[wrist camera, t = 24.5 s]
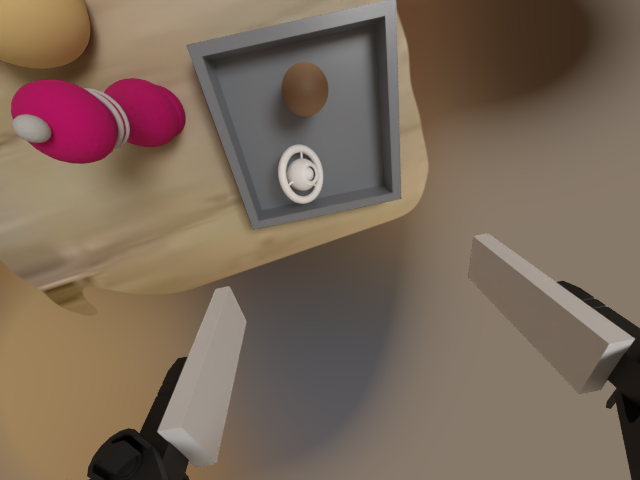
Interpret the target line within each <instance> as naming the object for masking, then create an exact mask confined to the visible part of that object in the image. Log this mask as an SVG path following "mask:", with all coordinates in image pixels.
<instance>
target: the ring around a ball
mask: <svg viewBox="0 0 640 480" xmlns="http://www.w3.org/2000/svg"><path fill="white" fill-rule="evenodd" d="M295 153H300V156H301V159H297V160H295V161H293V162H292V163H291V164H290V165H289V167H288V169H287V172H286V167H287V163H288V161H289V159H290V157H291V156H292V155H293V154H295ZM302 153H304V154H306V155H307V156H308V157H309V158H310V159H311V160H312V162H313V163H312V162H311V161H309V160H307V159H303V154H302ZM278 178H279V182H280V185H281V188H282V190H283V191H284V193H285V194H286V196H287V197H288V198H289V199H291V200H292V201H294V202H296V203H300V204H306V203H309V202H311V201H313V200H314V199H315V198H316V197H317V196H318V195H319V193H320V191H321V188H322V185H323V169H322V165H321V162H320V160H319V158H318V156H317V155H316V153H315V152H314V151H313V150H312V149H310V148H309V147H307V146H305V145H301V144H299V145H293V146H291V147H289V148H288V149H286V150H285V152H284V153H283V154H282V156H281V158H280V161H279V165H278ZM288 182H289V184H288ZM315 183H316V184H315ZM290 185H291V186H292V187H293V188H295V189H297V190H301V191H304V190H308V189H310V188H312V187H313V186H315V187H314V189H313V191H312V192H311V193H310V194H309V195H307V196H299V195H297V194H295V193H294V192H293V191H292V189H291V188H290Z"/></svg>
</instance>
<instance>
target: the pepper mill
mask: <svg viewBox="0 0 640 480" xmlns="http://www.w3.org/2000/svg"><path fill="white" fill-rule="evenodd" d="M11 113H12V117H13V122H12V127H13V129H14V131H15V133H16V134H17V135H18V136H19V137H21V138H22V139H24V140H26V141H28V142H29V143H30V144H31V145H32V146H33V147H35V148H36V149H37V150H39V151H41V152H42V153H44V154H46V155H48V156H50V157H52V158H54V159H57V160H60V161H64V162H69V163H81V164H83V163H91V162H95V161H98V160H101V159H103V158H105V157H106V156H107V155H108V154H110V153H111V152H112V150H113V149H116V148H119V147H121V146H122V145H124V144H125V143H126V141H127V142H129V143H132V144H135V145H139V146H144V147H156V146H161V145H164V144H166V143H168V142H169V141H170V140H172V138H173V137H174V136H176V135H178V134H179V133H180V132H181V131H182V130H183V128H184V125H185V112H184V109H183V106H182V104H181V103H180V101H179V99H178V98H177V97H176V96H175V95H174V94H173V93H172V92H171V91H169V90H168V89H166V88H164V87H161V86H158V85H154V84H152V83H150V82H148V81H145V80H142V79H134V78H132V79H124V80H119V81H117V82H115V83H114V84H112V85H111V86H109V87H108V88H107V89H106V90H105V92H104V93H103V92H101V91H98V90H95V89H90V88H81V87H79V86H77V85H75V84H72V83H69V82H66V81H61V80H49V79H46V80H38V81H34V82H31V83H28V84H26V85H24V86H22V87H21V88H20V89H19V90H18V91H17V92H16V94H15V95H14V97H13V99H12V103H11Z"/></svg>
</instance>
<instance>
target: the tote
mask: <svg viewBox="0 0 640 480" xmlns="http://www.w3.org/2000/svg"><path fill="white" fill-rule="evenodd" d="M186 46H187V49H188V51H189V54H190V57H191V60H192V62H193V65H194V68H195V71H196V73H197V76H198V79H199V82H200V84H201V87H202V90H203V93H204V95H205V98H206V101H207V104H208V106H209V109H210V112H211V115H212V117H213V120H214V123H215V126H216V128H217V131H218V134H219V137H220V139H221V142H222V145H223V148H224V150H225V153H226V156H227V159H228V161H229V164H230V167H231V169H232V172H233V175H234V178H235V180H236V183H237V186H238V189H239V191H240V194H241V197H242V200H243V202H244V205H245V208H246V211H247V213H248V216H249V219H250V222H251V224H252V227H253V230H254V229H259V228H264V227H269V226H273V225H278V224H283V223H288V222H293V221H297V220H302V219H307V218H312V217H317V216H321V215H326V214H331V213H336V212H341V211H345V210H350V209H355V208H360V207H365V206H369V205H374V204H379V203H384V202H389V201H393V200H398V199H401V172H400V134H399V95H398V57H397V18H396V0H386V1H382V2H377V3H373V4H369V5H364V6H360V7H355V8H351V9H346V10H342V11H337V12H333V13H328V14H324V15H319V16H315V17H310V18H306V19H301V20H297V21H292V22H288V23H283V24H279V25H274V26H270V27H265V28H261V29H257V30H252V31H248V32H243V33H239V34H234V35H230V36H225V37H221V38H216V39H212V40H207V41H203V42H198V43H194V44H189V45H186ZM299 62H309V63H312V64H314V65H316V66H317V67H319V68H320V69H321V70H322V72H323V73H324V75H325V77H326V79H327V82H328V89H329V90H328V98H327V101H326V103H325V105H324V107H323V108H322V109H321V110H320V111H319V112H318V113H316V114H314V115H312V116H300V115H297V114H295V113H294V112H292V111H291V110H290V109H289V108H288V107H287V105H286V104H285V102H284V99H283V96H282V81H283V77H284V75H285V73H286V72H287V70H288V69H289V68H290V67H291V66H293V65H294V64H296V63H299ZM299 144H301V145H305V146H307V147H309V148H310V149H312V150H313V151H314V152H315V153H316V155H317V156H318V158H319V160H320V162H321V165H322V169H323V185H322V188H321V191H320V193H319V195H318V196H317V197H316V198H315V199H314V200H313V201H311V202H309V203H306V204H300V203H296V202H294V201H292V200H291V199H289V198H288V197H287V196H286V194H285V193H284V191H283V190H282V188H281V185H280V182H279V178H278V165H279V161H280V158H281V156H282V154H283V153H284V152H285V150H286V149H288V148H289V147H291V146H293V145H299ZM302 154H303V159H307V160H309V161H311V162H312V160H311V159H310V158H309V157H308V156H307V155H306V154H304V153H302ZM297 159H301V156H300V153H295V154H293V155H292V156H291V157H290V159H289V161H288V163H287V167H286V172H287V169H288V167H289V165H290V164H291V163H292V162H293V161H295V160H297ZM312 163H313V162H312ZM288 184H289V182H288ZM315 184H316V183H315ZM314 187H315V186H313V187H312V188H310V189H308V190H304V191H301V190H297V189H295V188H293V187H292V186H291V185H290V188H291V189H292V191H293V192H294V193H295V194H297V195H299V196H307V195H309V194H310V193H311V192H312V191H313V189H314Z"/></svg>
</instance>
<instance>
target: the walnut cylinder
mask: <svg viewBox="0 0 640 480" xmlns="http://www.w3.org/2000/svg"><path fill="white" fill-rule="evenodd" d="M328 90H329V89H328V82H327V79H326V77H325V75H324V73H323V72H322V70H321V69H320V68H319V67H317V66H316V65H314V64H312V63H309V62H299V63H296V64H294V65H293V66H291V67H290V68H289V69H288V70H287V72H286V73H285V75H284V77H283V81H282V96H283V99H284V102H285V104H286V105H287V107H288V108H289V109H290V110H291V111H292V112H294V113H295V114H297V115H300V116H312V115H314V114H316V113H318V112H319V111H320V110H321V109H322V108H323V107H324V105H325V103H326V101H327V98H328Z"/></svg>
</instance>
